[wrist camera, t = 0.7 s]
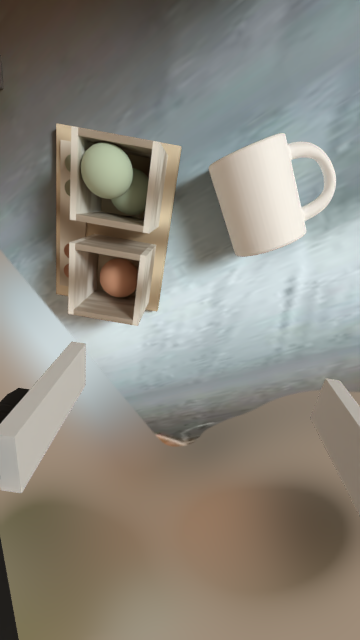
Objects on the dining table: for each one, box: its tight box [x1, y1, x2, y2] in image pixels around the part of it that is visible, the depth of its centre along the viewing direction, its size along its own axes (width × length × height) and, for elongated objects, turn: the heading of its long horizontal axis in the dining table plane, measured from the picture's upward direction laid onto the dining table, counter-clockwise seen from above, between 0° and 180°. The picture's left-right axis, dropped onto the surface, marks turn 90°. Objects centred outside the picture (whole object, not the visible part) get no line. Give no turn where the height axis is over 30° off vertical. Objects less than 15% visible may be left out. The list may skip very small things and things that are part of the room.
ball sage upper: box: [81, 142, 133, 199], centre depth 28 cm, size 5×5×5 cm
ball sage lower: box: [111, 168, 149, 215], centre depth 32 cm, size 5×5×5 cm
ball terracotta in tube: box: [100, 258, 138, 297], centre depth 36 cm, size 5×5×5 cm
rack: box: [56, 124, 181, 326], centre depth 33 cm, size 20×14×9 cm
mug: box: [209, 133, 336, 257], centre depth 31 cm, size 12×10×8 cm
